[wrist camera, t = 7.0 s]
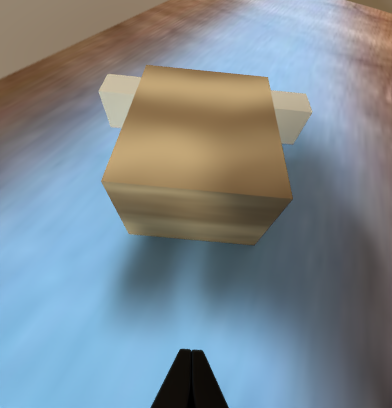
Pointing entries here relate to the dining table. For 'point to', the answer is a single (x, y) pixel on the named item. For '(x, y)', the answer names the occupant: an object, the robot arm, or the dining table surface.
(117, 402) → the dining table surface
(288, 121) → the cream board
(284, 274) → the dining table surface
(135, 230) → the oak block
